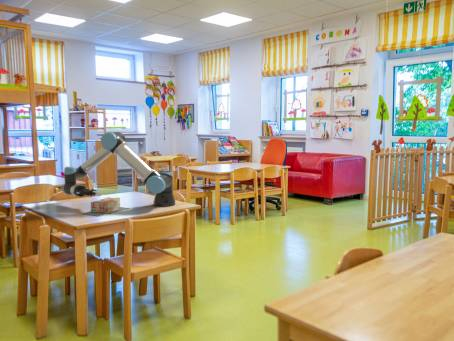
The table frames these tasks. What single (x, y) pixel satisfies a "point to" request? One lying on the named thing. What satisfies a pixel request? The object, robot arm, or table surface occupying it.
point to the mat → (104, 213)
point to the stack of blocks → (105, 205)
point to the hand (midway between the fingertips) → (99, 194)
